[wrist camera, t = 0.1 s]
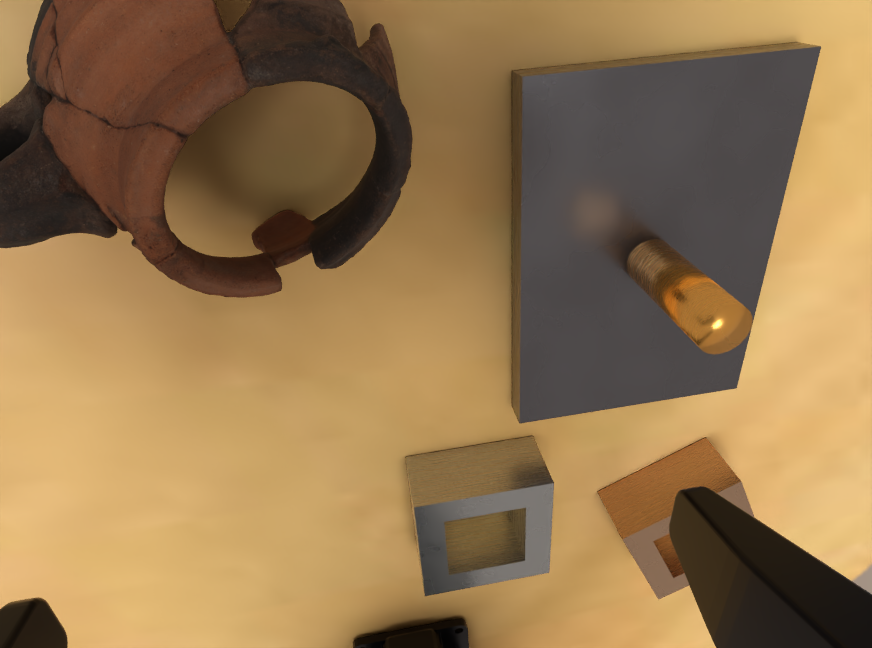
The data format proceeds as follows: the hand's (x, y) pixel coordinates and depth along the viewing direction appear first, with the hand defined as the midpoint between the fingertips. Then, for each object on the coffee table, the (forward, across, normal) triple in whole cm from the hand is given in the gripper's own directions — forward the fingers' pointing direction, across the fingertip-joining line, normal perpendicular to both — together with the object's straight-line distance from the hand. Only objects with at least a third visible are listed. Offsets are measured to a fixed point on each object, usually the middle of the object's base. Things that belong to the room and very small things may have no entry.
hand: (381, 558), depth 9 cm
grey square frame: (+15, -4, +15) cm, 21 cm away
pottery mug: (+15, +4, -4) cm, 16 cm away
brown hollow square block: (+15, -15, +18) cm, 27 cm away
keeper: (+15, -11, +3) cm, 19 cm away
